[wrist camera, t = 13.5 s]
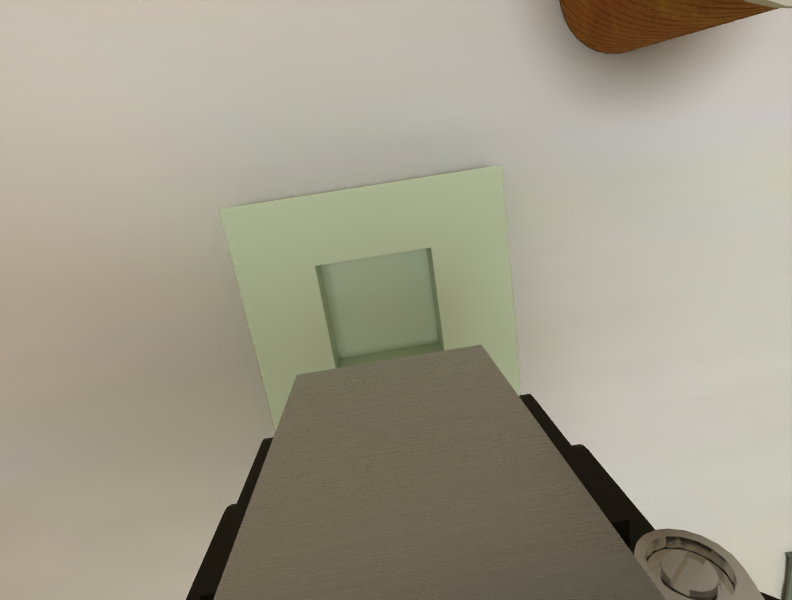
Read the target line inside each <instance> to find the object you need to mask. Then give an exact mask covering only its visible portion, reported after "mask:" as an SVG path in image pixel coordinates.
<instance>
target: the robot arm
mask: <svg viewBox="0 0 792 600" xmlns="http://www.w3.org/2000/svg"><path fill="white" fill-rule="evenodd" d="M519 397H520V399H521V400H522V401H523V403H524V404H525V405H526V407H527V408H528V410H529V411H530V412H531V414H532V415H533V416H534V418H535V419H536V421H537V422H538V423H539V425H540V426H541V428H542V429H543V430H544V432H545V433H546V434H547V436H548V437H549V439H550V440H551V441H552V443H553V444H554V445H555V447H556V448H557V450H558V451H559V452H560V454H561V455H562V457H563V458H564V459H565V461H566V462H567V463H568V465H569V466H570V468H571V469H572V470H573V472H574V473H575V475H576V476H577V477H578V479H579V480H580V481H581V483H582V484H583V486H584V487H585V488H586V490H587V491H588V492H589V494H590V495H591V497H592V498H593V499H594V501H595V502H596V504H597V505H598V506H599V508H600V509H601V510H602V512H603V513H604V515H605V516H606V517H607V519H608V520H609V522H610V523H611V524H612V526H613V527H614V528H615V530H616V531H617V533H618V534H619V535H620V537H621V538H622V539H623V541H624V542H625V544H626V545H627V546H628V548H629V549H630V551H631V552H632V553H633V555H634V556H635V557H636V559H637V560H638V562H639V563H640V564H641V566H642V567H643V568H644V570H645V571H646V573H647V574H648V575H649V577H650V578H651V580H652V581H653V582H654V584H655V585H656V586H657V588H658V589H659V591H660V592H661V593H662V595H663V596H664V598H665V599H666V600H780V599H777V598H775V597H772V596H769V595H767V594H764V593H762V592H760V591H759V590H758V588H757V587H756V585H755V584H754V582H753V581H752V579H751V578H750V576H749V575H748V573H747V572H746V570H745V569H744V568H743V566H742V565H741V564H740V563H739V562H738V561H737V560H736V558H735V557H734V556H733V555H732V554H730V553H729V552H728V551H726V550H725V549H724V548H722V547H721V546H720V545H718V544H717V543H715V542H713V541H711V540H709V539H707V538H705V537H703V536H701V535H697V534H694V533H691V532H688V531H684V530H676V529H660V530H655V529H654V528H653V527H652V525H651V524H650V523H649V522H648V521H647V520H646V518H645V517H644V516H643V515H642V514H641V512H640V511H639V510H638V509H637V508H636V506H635V505H634V504H633V503H632V502H631V500H630V499H629V498H628V497H627V496H626V494H625V493H624V492H623V491H622V490H621V488H620V487H619V486H618V485H617V484H616V483H615V481H614V480H613V479H612V478H611V477H610V475H609V474H608V473H607V472H606V471H605V469H604V468H603V467H602V466H601V465H600V463H599V462H598V461H597V460H596V459H595V457H594V456H593V455H592V454H591V453H590V451H589V450H588V449H587V448H586V447H585V446H584V445H580V444H578V445H573V446H571V444H570V443H569V442H568V441H567V439H566V438H565V437H564V436H563V434H562V433H561V432H560V430H559V429H558V428H557V427H556V425H555V424H554V423H553V422H552V420H551V419H550V418H549V416H548V415H547V414H546V413H545V411H544V410H543V409H542V408H541V406H540V405H539V404H538V402H537V401H536V400H535V399H534V397H533V396H532V395H531V394H526V395H520V396H519ZM272 440H273V437H272V438H267V439H264V440H263V441H262V443H261V446H260V448H259V451H258V453H257V456H256V458H255V460H254V463H253V465H252V468H251V470H250V473H249V475H248V478H247V480H246V482H245V485H244V487H243V490H242V492H241V495H240V497H239V500H238V502H237V504H231V505H230V506H228V507H227V508H226V510H225V512H224V514H223V516H222V518H221V521H220V523H219V525H218V527H217V530H216V532H215V534H214V537H213V539H212V541H211V543H210V546H209V548H208V550H207V553H206V555H205V557H204V559H203V562H202V564H201V566H200V569H199V571H198V573H197V575H196V578H195V580H194V582H193V585H192V587H191V589H190V591H189V594H188V596H187V598H186V600H213V599H214V596H215V594H216V591H217V588H218V586H219V583H220V580H221V577H222V575H223V572H224V569H225V567H226V564H227V561H228V559H229V556H230V553H231V551H232V548H233V545H234V542H235V540H236V537H237V534H238V532H239V529H240V526H241V524H242V521H243V518H244V516H245V513H246V510H247V507H248V505H249V502H250V499H251V497H252V494H253V491H254V489H255V486H256V483H257V480H258V478H259V475H260V472H261V470H262V467H263V464H264V462H265V459H266V456H267V454H268V451H269V448H270V445H271V443H272Z"/></svg>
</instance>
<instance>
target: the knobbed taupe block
mask: <svg viewBox="0 0 792 600" xmlns="http://www.w3.org/2000/svg"><path fill="white" fill-rule="evenodd" d="M213 600H666V599H665V598H664V596H663V595H662V593H661V592H660V591H659V589H658V588H657V586H656V585H655V584H654V582H653V581H652V580H651V578H650V577H649V575H648V574H647V573H646V571H645V570H644V568H643V567H642V566H641V564H640V563H639V562H638V560H637V559H636V557H635V556H634V555H633V553H632V552H631V551H630V549H629V548H628V546H627V545H626V544H625V542H624V541H623V539H622V538H621V537H620V535H619V534H618V533H617V531H616V530H615V528H614V527H613V526H612V524H611V523H610V522H609V520H608V519H607V517H606V516H605V515H604V513H603V512H602V510H601V509H600V508H599V506H598V505H597V504H596V502H595V501H594V499H593V498H592V497H591V495H590V494H589V492H588V491H587V490H586V488H585V487H584V486H583V484H582V483H581V481H580V480H579V479H578V477H577V476H576V475H575V473H574V472H573V470H572V469H571V468H570V466H569V465H568V463H567V462H566V461H565V459H564V458H563V457H562V455H561V454H560V452H559V451H558V450H557V448H556V447H555V445H554V444H553V443H552V441H551V440H550V439H549V437H548V436H547V434H546V433H545V432H544V430H543V429H542V428H541V426H540V425H539V423H538V422H537V421H536V419H535V418H534V416H533V415H532V414H531V412H530V411H529V410H528V408H527V407H526V405H525V404H524V403H523V401H522V400H521V399H520V397H519V396H518V394H517V393H516V392H515V390H514V389H513V387H512V386H511V385H510V383H509V382H508V381H507V379H506V378H505V376H504V375H503V374H502V372H501V371H500V369H499V368H498V367H497V365H496V364H495V363H494V361H493V360H492V358H491V357H490V356H489V354H488V353H487V352H486V350H485V349H484V347H483V346H482V345H475V346H469V347H463V348H457V349H450V350H444V351H438V352H432V353H426V354H420V355H414V356H408V357H402V358H396V359H390V360H384V361H378V362H372V363H366V364H360V365H354V366H347V367H341V368H335V369H329V370H323V371H317V372H311V373H305V374H299V375H296V378H295V381H294V383H293V386H292V389H291V392H290V394H289V397H288V400H287V402H286V405H285V408H284V410H283V413H282V416H281V419H280V421H279V424H278V427H277V429H276V432H275V435H274V437H273V440H272V443H271V445H270V448H269V451H268V454H267V456H266V459H265V462H264V464H263V467H262V470H261V472H260V475H259V478H258V480H257V483H256V486H255V489H254V491H253V494H252V497H251V499H250V502H249V505H248V507H247V510H246V513H245V516H244V518H243V521H242V524H241V526H240V529H239V532H238V534H237V537H236V540H235V542H234V545H233V548H232V551H231V553H230V556H229V559H228V561H227V564H226V567H225V569H224V572H223V575H222V577H221V580H220V583H219V586H218V588H217V591H216V594H215V596H214V599H213Z"/></svg>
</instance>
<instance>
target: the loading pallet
mask: <svg viewBox="0 0 792 600" xmlns="http://www.w3.org/2000/svg"><path fill="white" fill-rule="evenodd" d="M219 212H220V216H221V220H222V223H223V227H224V231H225V235H226V239H227V243H228V247H229V251H230V255H231V259H232V263H233V267H234V271H235V275H236V279H237V283H238V287H239V290H240V294H241V298H242V302H243V306H244V310H245V314H246V318H247V322H248V326H249V330H250V334H251V338H252V342H253V346H254V350H255V354H256V358H257V361H258V365H259V369H260V373H261V377H262V381H263V385H264V389H265V393H266V397H267V401H268V405H269V409H270V413H271V417H272V421H273V425H274V429H275V432H276V429H277V427H278V424H279V421H280V419H281V416H282V413H283V410H284V408H285V405H286V402H287V400H288V397H289V394H290V392H291V389H292V386H293V383H294V381H295V378H296V375H299V374H305V373H311V372H317V371H323V370H329V369H335V368H341V367H347V366H354V365H360V364H366V363H372V362H378V361H384V360H390V359H396V358H402V357H408V356H414V355H420V354H426V353H432V352H438V351H444V350H450V349H457V348H463V347H469V346H475V345H482V346H483V347H484V349H485V350H486V352H487V353H488V354H489V356H490V357H491V358H492V360H493V361H494V363H495V364H496V365H497V367H498V368H499V369H500V371H501V372H502V374H503V375H504V376H505V378H506V379H507V381H508V382H509V383H510V385H511V386H512V387H513V389H514V390H515V392H516V393H517V394H518V396H520V395H521V391H520V379H519V367H518V354H517V342H516V330H515V318H514V306H513V294H512V282H511V269H510V257H509V245H508V233H507V221H506V209H505V197H504V184H503V172H502V165H497V166H491V167H485V168H478V169H472V170H465V171H459V172H453V173H446V174H440V175H433V176H427V177H421V178H414V179H408V180H401V181H395V182H389V183H382V184H376V185H369V186H363V187H357V188H350V189H344V190H337V191H331V192H325V193H318V194H312V195H305V196H299V197H293V198H286V199H280V200H273V201H267V202H261V203H254V204H248V205H241V206H235V207H229V208H222V209H219Z"/></svg>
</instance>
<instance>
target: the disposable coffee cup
mask: <svg viewBox="0 0 792 600" xmlns="http://www.w3.org/2000/svg"><path fill="white" fill-rule="evenodd" d="M560 3H561V6H562V10H563V14H564V17H565V20H566V22H567V24H568V26H569V28H570V29H571V30H572V32H573V33H574V34H575V36H576V37H577V38H578V39H579V40H580V41H582V42H583V43H584V44H585V45H587V46H588V47H590V48H592V49H594V50H596V51H600V52H604V53H623V52H628V51H631V50H634V49H637V48H641V47H645V46H648V45H651V44H655V43H658V42H662V41H666V40H669V39H673V38H676V37H680V36H684V35H687V34H690V33H694V32H697V31H701V30H704V29H707V28H711V27H715V26H718V25H722V24H725V23H729V22H733V21H735V20H739V19H743V18H747V17H749V16H753V15H757V14H760V13H763V12H767V11H771V10H774V9H778V8H792V0H560Z"/></svg>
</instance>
